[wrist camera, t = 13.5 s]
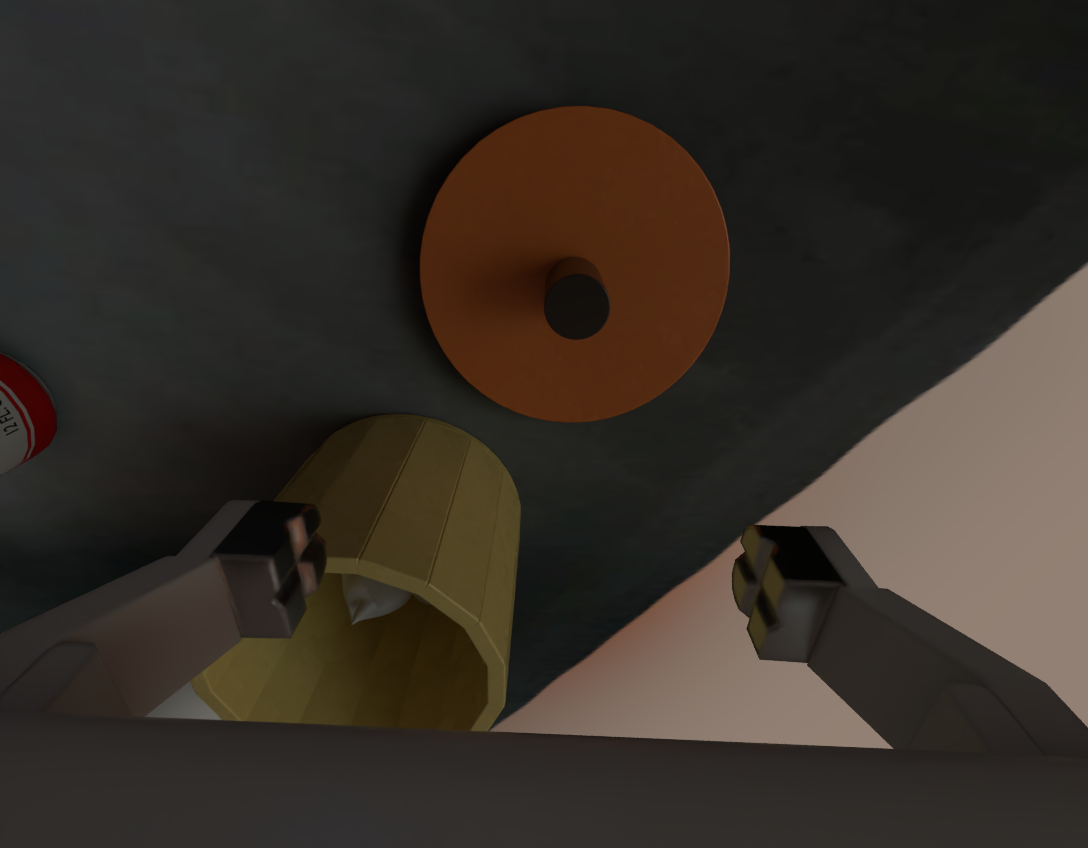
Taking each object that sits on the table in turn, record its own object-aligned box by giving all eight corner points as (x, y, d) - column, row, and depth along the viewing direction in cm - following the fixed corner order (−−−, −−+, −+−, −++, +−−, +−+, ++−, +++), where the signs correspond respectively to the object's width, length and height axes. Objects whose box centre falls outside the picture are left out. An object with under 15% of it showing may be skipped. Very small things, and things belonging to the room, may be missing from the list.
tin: (284, 408, 26) (134, 549, 17) (523, 419, 26) (506, 565, 17) (321, 585, 31) (224, 766, 22) (518, 594, 32) (504, 777, 22)
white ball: (200, 577, 31) (108, 688, 25) (313, 630, 33) (254, 745, 27) (150, 665, 35) (58, 781, 29) (254, 708, 37) (190, 825, 31)
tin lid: (415, 99, 20) (377, 83, 16) (753, 117, 20) (807, 105, 16) (433, 406, 26) (410, 455, 21) (693, 418, 26) (720, 469, 22)
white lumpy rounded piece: (410, 450, 26) (357, 559, 19) (489, 535, 29) (468, 658, 22) (335, 500, 28) (261, 617, 21) (416, 576, 30) (375, 704, 23)
